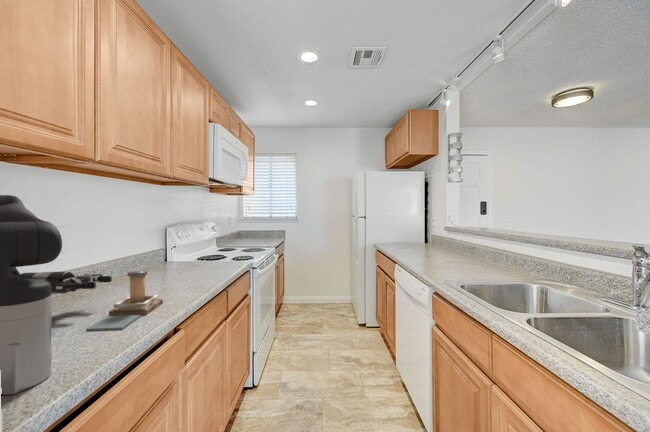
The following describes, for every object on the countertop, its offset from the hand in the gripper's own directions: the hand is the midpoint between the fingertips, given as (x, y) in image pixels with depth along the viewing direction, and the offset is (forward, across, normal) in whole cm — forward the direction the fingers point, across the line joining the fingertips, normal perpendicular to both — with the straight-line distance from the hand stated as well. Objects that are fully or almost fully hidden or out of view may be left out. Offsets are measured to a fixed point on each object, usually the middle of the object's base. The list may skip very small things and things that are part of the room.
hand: (103, 282), depth 99 cm
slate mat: (+12, -13, +10) cm, 20 cm away
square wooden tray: (+12, 0, +10) cm, 15 cm away
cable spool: (+12, 0, +8) cm, 14 cm away
